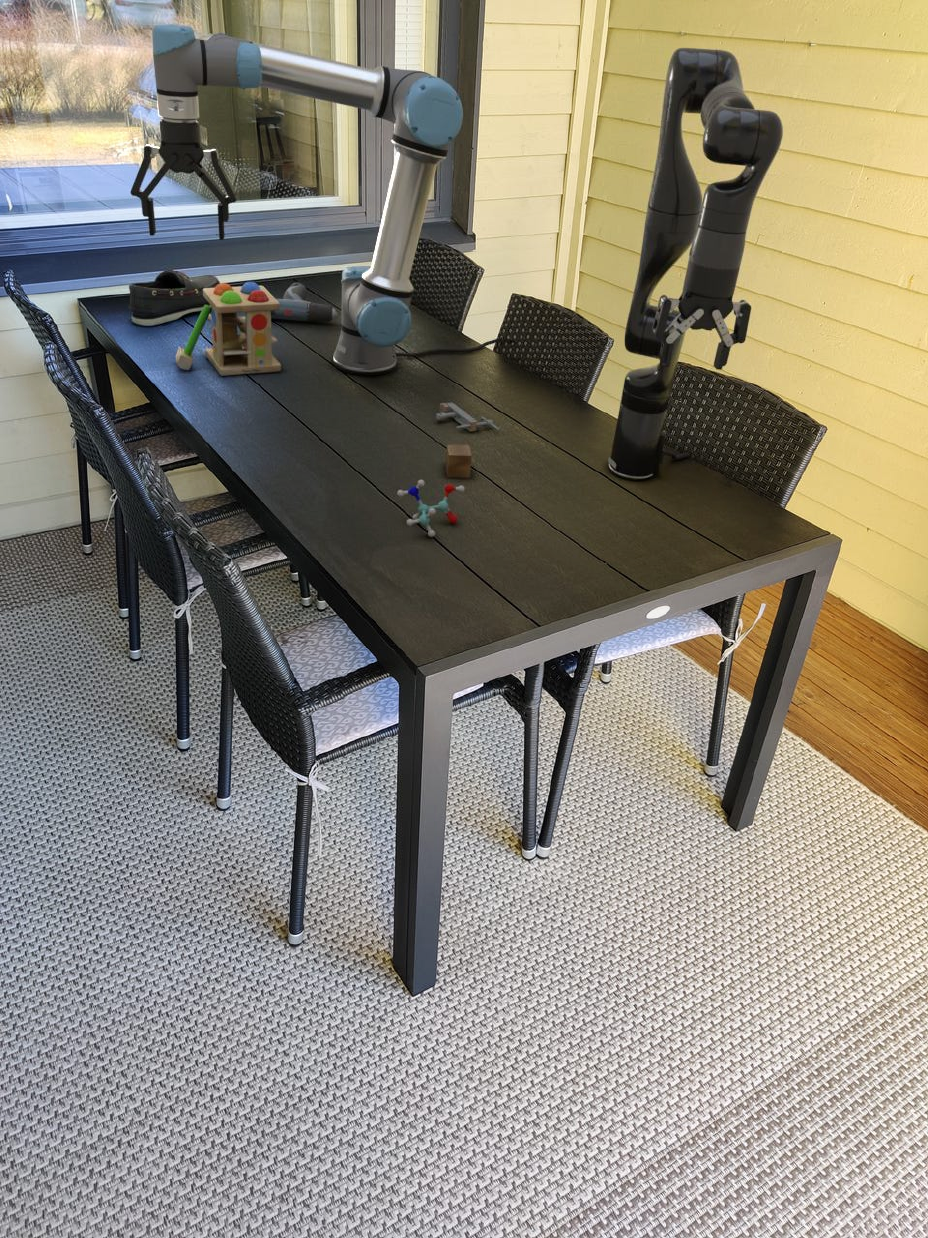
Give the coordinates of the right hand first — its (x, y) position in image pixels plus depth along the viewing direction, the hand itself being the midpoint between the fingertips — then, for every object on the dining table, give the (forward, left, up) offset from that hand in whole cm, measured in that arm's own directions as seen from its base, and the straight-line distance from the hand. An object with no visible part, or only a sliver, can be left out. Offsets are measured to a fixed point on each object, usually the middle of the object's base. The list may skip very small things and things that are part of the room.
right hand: (691, 366), depth 153 cm
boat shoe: (+87, -130, -34) cm, 160 cm away
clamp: (+23, -56, -34) cm, 69 cm away
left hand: (+80, -74, -2) cm, 109 cm away
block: (+29, -33, -34) cm, 56 cm away
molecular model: (+38, -12, -34) cm, 53 cm away
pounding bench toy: (+74, -90, -34) cm, 121 cm away
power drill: (+53, -131, -34) cm, 145 cm away
